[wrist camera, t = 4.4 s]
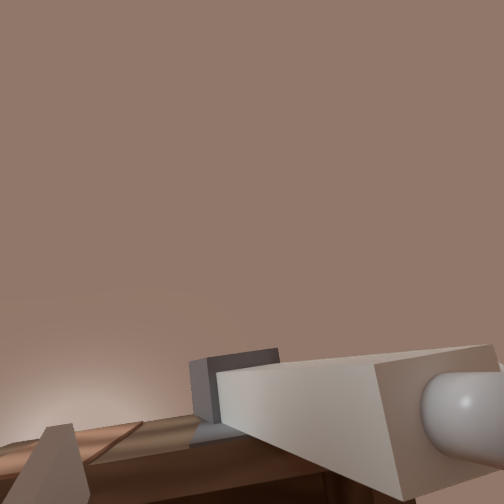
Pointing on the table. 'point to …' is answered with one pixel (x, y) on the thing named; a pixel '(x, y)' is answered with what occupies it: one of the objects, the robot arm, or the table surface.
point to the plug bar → (367, 412)
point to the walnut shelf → (194, 467)
